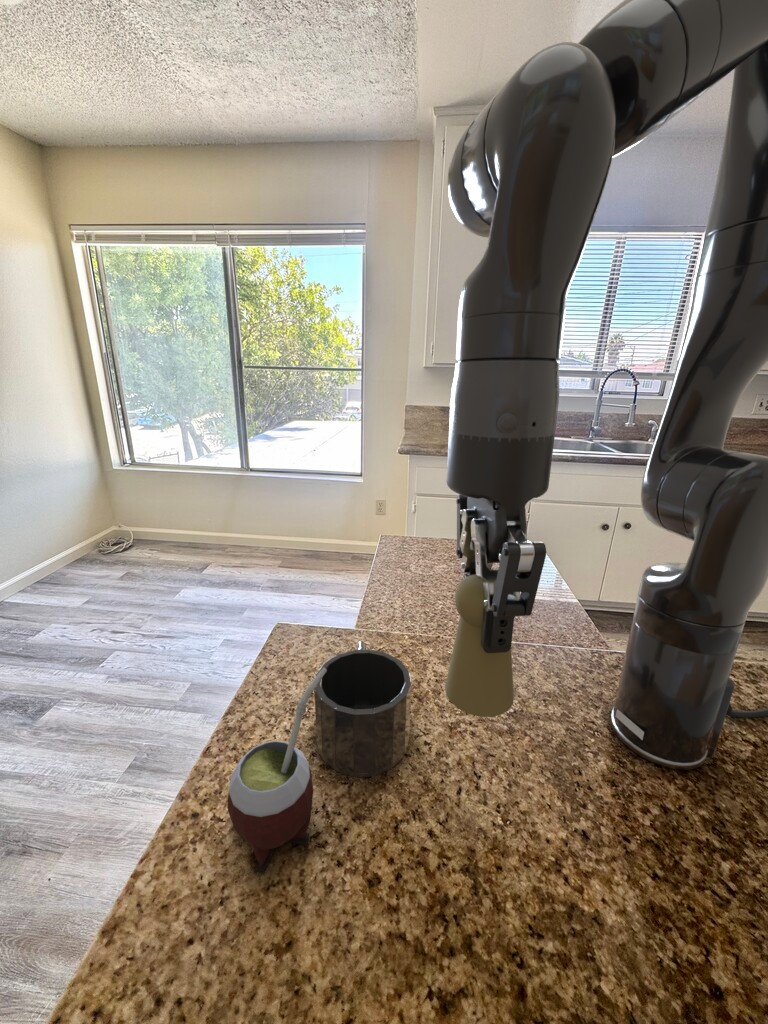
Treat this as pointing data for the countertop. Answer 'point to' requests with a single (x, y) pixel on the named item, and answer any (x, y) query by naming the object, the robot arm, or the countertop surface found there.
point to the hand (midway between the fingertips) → (484, 628)
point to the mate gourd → (273, 792)
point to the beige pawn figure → (477, 660)
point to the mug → (363, 712)
